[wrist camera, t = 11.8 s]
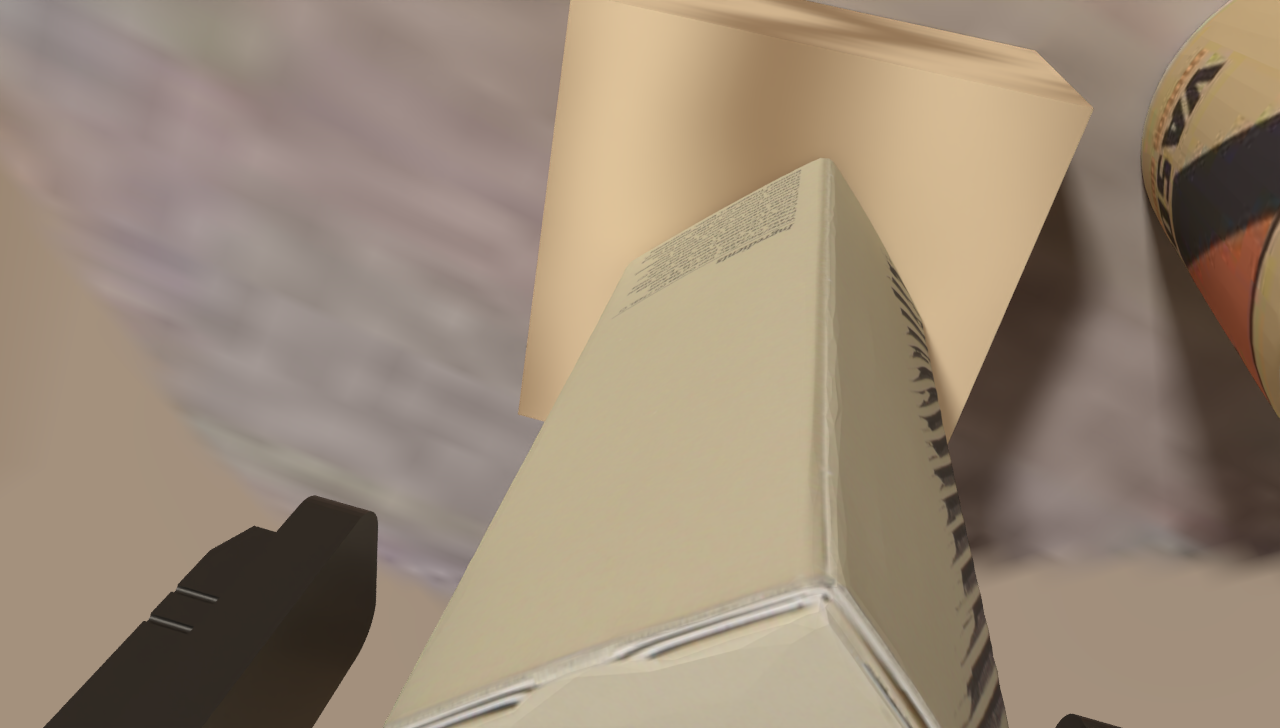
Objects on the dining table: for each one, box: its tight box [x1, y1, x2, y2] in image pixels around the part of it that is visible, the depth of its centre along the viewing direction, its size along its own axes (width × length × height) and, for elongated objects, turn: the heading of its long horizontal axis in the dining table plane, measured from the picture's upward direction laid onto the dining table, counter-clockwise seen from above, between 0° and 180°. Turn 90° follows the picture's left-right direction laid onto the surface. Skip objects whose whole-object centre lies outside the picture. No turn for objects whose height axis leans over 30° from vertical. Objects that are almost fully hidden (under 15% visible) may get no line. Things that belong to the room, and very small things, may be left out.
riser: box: [518, 0, 1094, 445], centre depth 22 cm, size 10×10×6 cm
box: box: [383, 158, 1008, 728], centre depth 14 cm, size 5×4×13 cm
